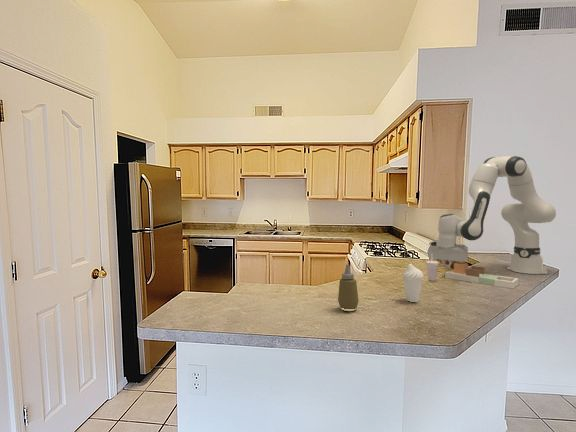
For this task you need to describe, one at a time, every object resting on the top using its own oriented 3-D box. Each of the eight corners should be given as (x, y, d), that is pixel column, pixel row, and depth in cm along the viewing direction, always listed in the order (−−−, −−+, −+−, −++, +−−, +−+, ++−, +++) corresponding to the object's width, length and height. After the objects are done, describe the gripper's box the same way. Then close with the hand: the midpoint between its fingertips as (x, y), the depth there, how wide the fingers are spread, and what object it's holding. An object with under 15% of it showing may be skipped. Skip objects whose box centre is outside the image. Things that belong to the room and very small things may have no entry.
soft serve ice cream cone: (423, 299, 134) (423, 262, 133) (423, 305, 126) (422, 266, 126) (403, 297, 137) (402, 261, 137) (401, 303, 130) (400, 265, 129)
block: (457, 271, 171) (457, 262, 171) (467, 272, 167) (467, 263, 167) (453, 272, 168) (453, 263, 168) (464, 274, 164) (464, 264, 164)
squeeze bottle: (359, 307, 126) (359, 263, 125) (357, 314, 118) (356, 267, 118) (339, 305, 129) (339, 262, 128) (336, 312, 121) (335, 266, 120)
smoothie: (436, 278, 168) (436, 252, 167) (441, 281, 162) (441, 254, 161) (424, 278, 169) (424, 252, 168) (428, 281, 162) (428, 254, 162)
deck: (452, 274, 176) (452, 263, 175) (518, 284, 153) (518, 271, 153) (445, 277, 169) (445, 266, 169) (513, 288, 146) (513, 275, 146)
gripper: (469, 244, 166) (469, 270, 167) (431, 241, 182) (431, 264, 182) (465, 245, 162) (465, 272, 163) (426, 242, 177) (426, 266, 178)
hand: (447, 268), depth 173 cm, fingers closed
